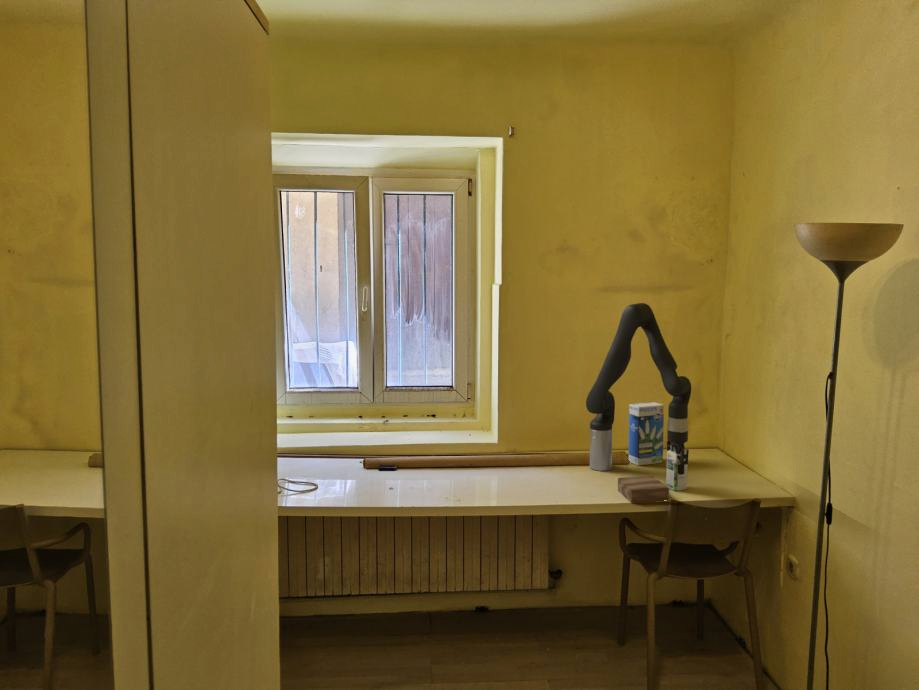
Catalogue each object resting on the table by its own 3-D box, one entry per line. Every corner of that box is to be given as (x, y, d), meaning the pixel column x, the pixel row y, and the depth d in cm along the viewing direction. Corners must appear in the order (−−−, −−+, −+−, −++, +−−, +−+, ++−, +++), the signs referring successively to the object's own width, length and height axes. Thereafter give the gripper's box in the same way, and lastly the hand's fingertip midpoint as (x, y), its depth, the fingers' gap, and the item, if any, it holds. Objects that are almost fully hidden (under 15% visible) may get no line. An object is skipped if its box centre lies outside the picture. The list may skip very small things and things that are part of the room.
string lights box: (637, 466, 278) (638, 407, 276) (627, 461, 285) (628, 403, 283) (663, 462, 283) (664, 404, 280) (653, 458, 290) (653, 401, 287)
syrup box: (665, 487, 251) (666, 450, 249) (677, 485, 253) (678, 448, 251) (675, 491, 246) (675, 454, 244) (687, 489, 248) (688, 452, 246)
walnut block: (617, 490, 248) (618, 477, 247) (653, 488, 249) (653, 476, 249) (631, 503, 234) (631, 489, 233) (668, 501, 235) (668, 487, 235)
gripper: (660, 424, 253) (659, 466, 255) (676, 433, 239) (675, 477, 241) (678, 424, 254) (677, 465, 256) (696, 432, 240) (695, 476, 242)
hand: (676, 471), depth 248 cm, fingers closed on syrup box, 6 cm apart
